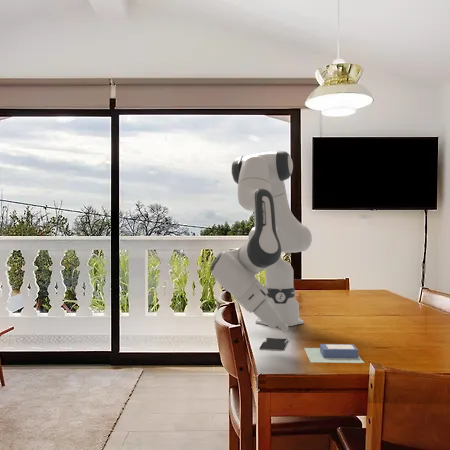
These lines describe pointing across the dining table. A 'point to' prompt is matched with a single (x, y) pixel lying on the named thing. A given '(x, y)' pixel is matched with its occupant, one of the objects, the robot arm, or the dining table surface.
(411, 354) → the dining table surface
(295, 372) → the dining table surface
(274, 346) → the smartphone
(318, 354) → the mat
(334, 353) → the box
